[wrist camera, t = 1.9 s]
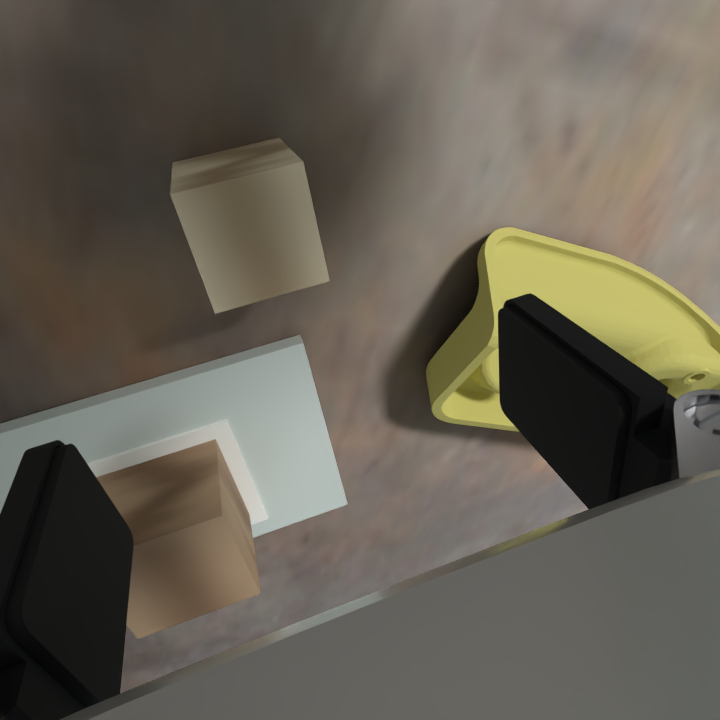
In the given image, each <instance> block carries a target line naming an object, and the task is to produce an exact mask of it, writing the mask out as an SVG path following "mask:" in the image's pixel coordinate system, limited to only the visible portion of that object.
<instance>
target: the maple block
mask: <svg viewBox="0 0 720 720" xmlns="http://www.w3.org/2000/svg"><path fill="white" fill-rule="evenodd" d="M170 196H171V198H172V201H173V204H174V206H175V209H176V212H177V214H178V217H179V219H180V222H181V225H182V227H183V230H184V233H185V235H186V238H187V241H188V243H189V246H190V249H191V251H192V254H193V257H194V259H195V262H196V265H197V267H198V270H199V273H200V275H201V278H202V280H203V283H204V286H205V288H206V291H207V294H208V296H209V299H210V302H211V304H212V307H213V310H214V312H215V314H216V313H220V312H223V311H227V310H230V309H234V308H238V307H241V306H245V305H248V304H252V303H255V302H259V301H262V300H266V299H269V298H273V297H276V296H280V295H283V294H287V293H290V292H294V291H297V290H301V289H304V288H308V287H311V286H315V285H318V284H322V283H325V282H329V281H330V280H329V275H328V271H327V266H326V262H325V257H324V253H323V248H322V244H321V239H320V235H319V230H318V226H317V221H316V216H315V212H314V207H313V203H312V198H311V194H310V189H309V185H308V180H307V176H306V171H305V167H304V162H303V161H302V160H301V159H300V158H299V157H298V156H297V155H296V154H295V153H294V152H293V151H292V150H291V149H290V148H289V147H288V146H287V145H286V144H285V143H284V142H283V141H282V140H281V139H280V138H274V139H270V140H266V141H262V142H258V143H253V144H249V145H245V146H241V147H236V148H232V149H228V150H224V151H220V152H215V153H211V154H207V155H203V156H199V157H194V158H190V159H186V160H182V161H178V162H173V163H172V176H171V189H170Z"/></svg>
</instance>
